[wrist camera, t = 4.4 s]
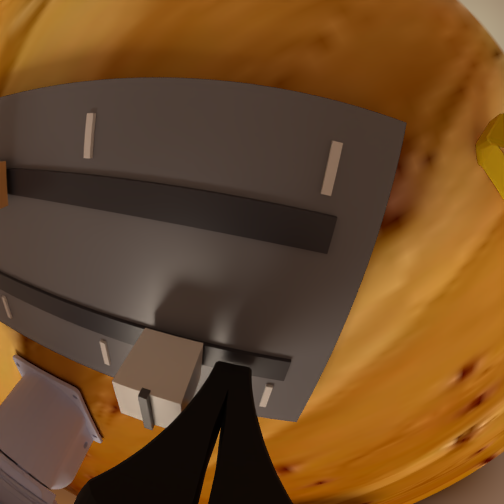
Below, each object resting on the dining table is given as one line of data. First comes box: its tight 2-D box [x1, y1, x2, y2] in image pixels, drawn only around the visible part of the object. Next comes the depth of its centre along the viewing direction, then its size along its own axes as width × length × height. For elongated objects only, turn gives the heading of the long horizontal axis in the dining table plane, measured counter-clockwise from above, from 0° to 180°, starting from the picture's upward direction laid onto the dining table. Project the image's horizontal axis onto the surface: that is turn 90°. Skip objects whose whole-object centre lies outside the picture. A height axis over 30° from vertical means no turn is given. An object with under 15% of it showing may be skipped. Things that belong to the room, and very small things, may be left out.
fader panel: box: [0, 78, 406, 422], centre depth 11 cm, size 14×20×2 cm
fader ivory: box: [112, 328, 203, 430], centre depth 10 cm, size 2×2×3 cm
